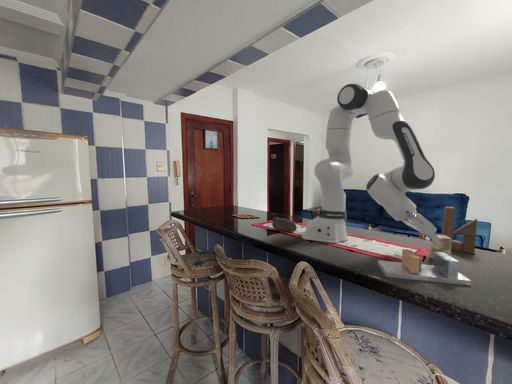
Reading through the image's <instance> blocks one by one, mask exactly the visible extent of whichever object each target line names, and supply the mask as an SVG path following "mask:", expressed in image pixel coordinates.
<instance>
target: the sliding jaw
mask: <svg viewBox="0 0 512 384" xmlns="http://www.w3.org/2000/svg"><path fill="white" fill-rule="evenodd" d="M401 253H402V254H401V262H402V264H403V265H404V266H405V267H406V268H407V269H408V270H409V271H410V272H411V273H419V272H421V264H422V261H423V259H422V257H420V256H419V255H418V254H417V253H415V252H414V251H413V250H412V249H411V250H410V249H404V248H403V249H402V251H401Z"/></svg>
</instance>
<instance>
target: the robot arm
mask: <svg viewBox="0 0 512 384" xmlns="http://www.w3.org/2000/svg"><path fill="white" fill-rule="evenodd" d="M336 100H337V104H338V105H337V106H335V107H333V108H332V109H331V110H330V112H329V116H328V120H327V126H326V133H325V134H326V135H325V148H326V150H327V153H328V158H326V159H323V160H320V161H318V162H317V163H316V165H315V166H314V169H313V170H314V171H313V172H314V176H315V177H316V179H317V181H318V182H319V186H320V190H321V208H317V209H316V212H317V216H316V217H315V218H313V219H312V220H310V221H309V222H308V223H307V224H306V227H305V230H304V231H302V232H301V235H300V237H301V238H302V239H303V240H307V241H308V240H309V241H315V242H321V243H322V242H325V243H331V244H337V243H340V242H346V241H348V239H349V238H348V233H347V228H346V226H347V225H346V222H347V210H346V200H347V199H346V198H347V195H346V192H345V191H344V188H343V184H342V182H346V181H348V180H349V179H351V178H352V177H353V175H354V166H353V164H352V158H351V149H350V147H351V146H350V145H351V135H352V126H353V124H352V123H353V120H354V118H356V119H360V118H362V117H364V116H368V119H369V120H368V121H369V123H370V128H371V130H372V133H373V135H374V136H375V137H377V138H379V139H382V140H392V141H393V142H394V143H396V145H397V148H398V149H399V152H400V156H401V157H402V159H403V160H402V161H403V165H401V166H399V167H396V168H393V169H392V170H389V171H386V172H383V173H376V174H375V175H373V176H372V177H371V178H370V179H369V180H368V182H367V183H366V186H365V187H366V191H367V193H368V194H369V195H370V197H371V198H372V199H373V200H374V201H375V202H376V203H377V205H380V206H382V207H383V208H384V210H385V211H386V213H388V214H389V215H390V217H392V218H393V219H394V220H395V221H396V222H399V221H401V222H402V223H404V224H405V225H407V226H408V227H411V228H412V229H414V230H416V231H418V232H419V233H420V234H421V235H423V236H427V237H429V238H430V239H431V241H432V240H434V241H436V242H437V241H438V240H440V238H439V237H438V236H437V235H438V234H436V232H437V228H436V227H435V226H434V224H432V223H431V222H430V221H429V220H428V219H427V218H425V217H424V216H423V215H422V214H420V213H418V211H417V210H416V209H417V204H415V203H414V202H413V201H412V200H411V199H410V198H409V197H407V196H406V193H407V192H409V191H412V190H422V189H427V188H428V187H430V186H431V185H432V184H433V183H434V180H435V175H436V172H435V169H434V167H433V165H432V164H431V162H430V161H429V159H427V157H426V155H425V154H424V151H423V150H422V147H421V145H420V143H419V141H418V138H417V136H416V134H415V132H414V130H413V128H412V127H411V125H410V124H409V123H408V122H407V121H405V120H404V118H403V116H402V113H401V109H400V107H399V104H398V102H397V100H396V98H395V96H394V94H393V92H391V91H389V90H386V89H383V90H379V91H376V92H374V91H372V90H370V89H369V88H367V87H366V86H362V85H360V84H358V83H357V84H356V83H347V84H346V85H344V86H343V87H342V88H341V89H339V91H338V93H337V97H336Z"/></svg>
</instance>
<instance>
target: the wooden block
mask: <svg viewBox="0 0 512 384" xmlns="http://www.w3.org/2000/svg"><path fill="white" fill-rule="evenodd" d="M455 211H456V208H455V207H453V206H445V207H443V218H442V219H443V221H442V229H441V231H442V232H441V235H445V236H447V237H449V238H451V239H452V244H451V251H456V252H461V253H466V254H471V255H474V254H475V253H476V252H475V251H476V239H477V236H476V235H477V225H478V218H475V219H473V220H472V221H470V222H468V223H466V224H465V225H463V226H461V227H459V228H457V229H456V230H454V225H455V214H456V213H455ZM454 235H460V236H462V237H463V238H462V239H463V240H462V242H461V241H459V240H455V239H453V238H454Z"/></svg>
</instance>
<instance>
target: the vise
mask: <svg viewBox="0 0 512 384" xmlns="http://www.w3.org/2000/svg"><path fill="white" fill-rule="evenodd" d="M377 266H378V267H379V268H380V270H381V272H382V273H383V275H384V276H385V277H387V278H392V279H393V278H395V279H403V280H404V279H405V280H413V281H415V280H416V281H422V282H431V283H439V284H440V283H441V284H451V285H460V286H461V285H462V286H472V285H471V284H472V280H470V279H469V278H468V277H466V276H465V275H464V274H462V273H460V272H459V267H460V261H459V260H457V259H456V258H454V257H452V256H449V255H447V254H446V253H444V252H433V258H432V265H431V264H423V263H421V272H419V273H411V272H410V271H409V270H408V269H407V268H406V267H405V266H404V265H403V264H402V261H401V262H399V261H389V260H377Z"/></svg>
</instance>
